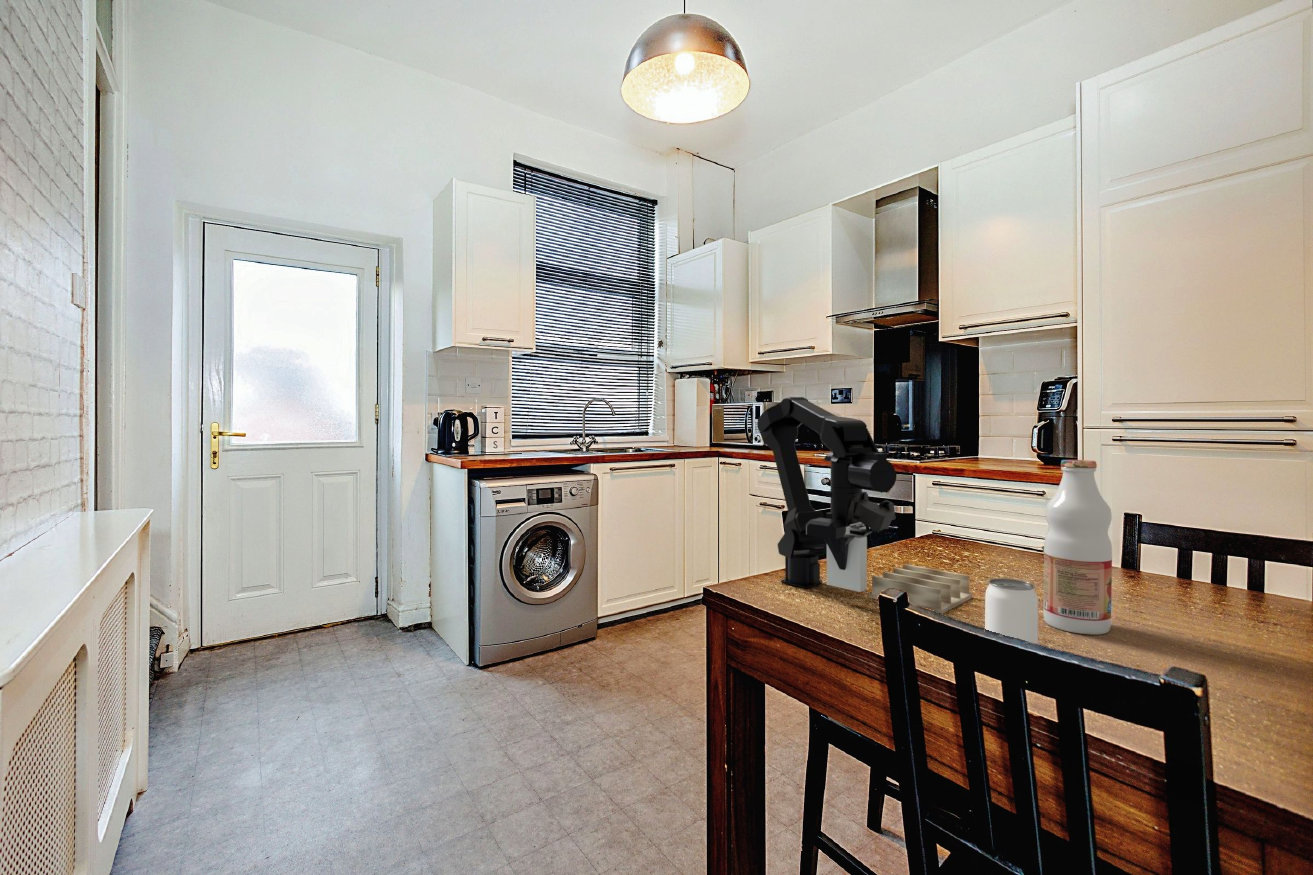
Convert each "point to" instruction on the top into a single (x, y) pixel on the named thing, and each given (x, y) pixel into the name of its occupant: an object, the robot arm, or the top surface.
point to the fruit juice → (1078, 554)
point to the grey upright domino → (850, 566)
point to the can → (1012, 609)
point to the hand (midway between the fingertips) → (846, 568)
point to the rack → (925, 587)
